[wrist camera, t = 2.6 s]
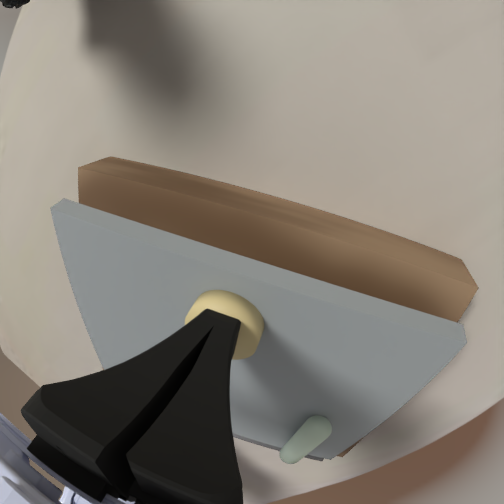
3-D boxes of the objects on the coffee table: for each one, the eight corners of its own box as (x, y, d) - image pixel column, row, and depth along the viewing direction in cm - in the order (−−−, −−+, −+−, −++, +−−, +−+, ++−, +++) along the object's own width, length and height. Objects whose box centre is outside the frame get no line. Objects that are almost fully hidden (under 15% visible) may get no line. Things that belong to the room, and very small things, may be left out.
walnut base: (345, 429, 23) (342, 457, 21) (120, 349, 27) (103, 369, 24) (461, 259, 15) (478, 287, 12) (110, 156, 18) (78, 167, 15)
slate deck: (328, 451, 21) (321, 479, 19) (115, 374, 24) (101, 396, 22) (463, 324, 10) (472, 375, 8) (64, 198, 13) (27, 225, 11)
